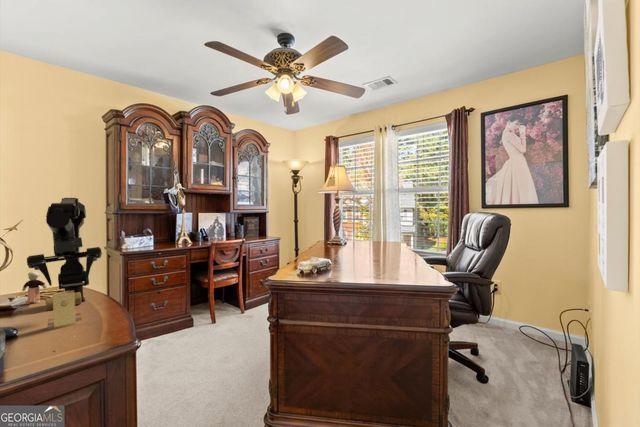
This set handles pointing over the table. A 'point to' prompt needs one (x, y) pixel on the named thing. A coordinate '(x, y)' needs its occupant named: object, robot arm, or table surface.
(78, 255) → the robot arm
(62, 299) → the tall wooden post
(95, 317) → the table surface
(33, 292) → the grandmother figurine
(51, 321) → the tan flat block
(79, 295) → the gavel
